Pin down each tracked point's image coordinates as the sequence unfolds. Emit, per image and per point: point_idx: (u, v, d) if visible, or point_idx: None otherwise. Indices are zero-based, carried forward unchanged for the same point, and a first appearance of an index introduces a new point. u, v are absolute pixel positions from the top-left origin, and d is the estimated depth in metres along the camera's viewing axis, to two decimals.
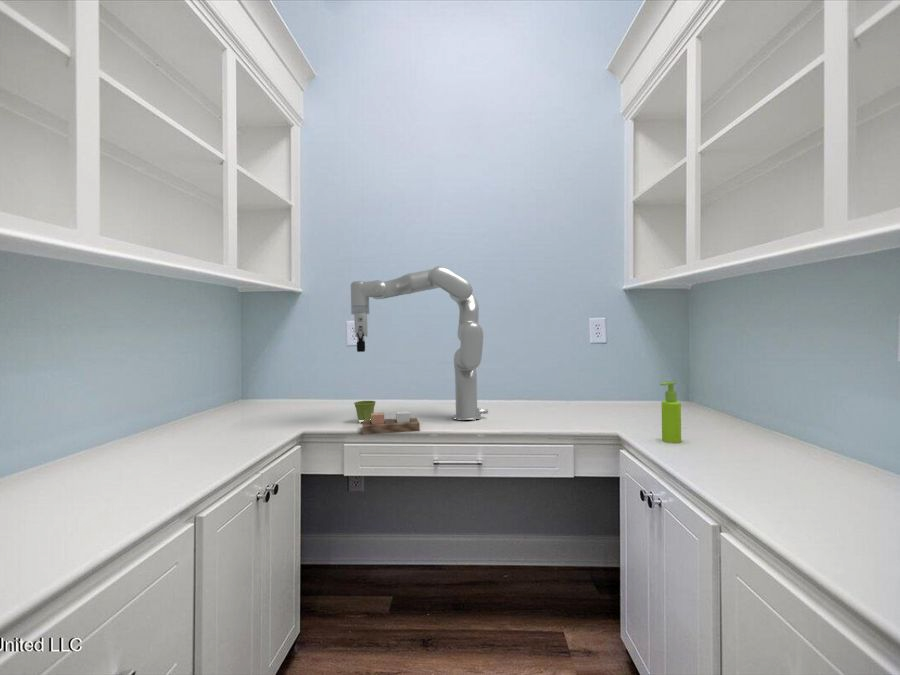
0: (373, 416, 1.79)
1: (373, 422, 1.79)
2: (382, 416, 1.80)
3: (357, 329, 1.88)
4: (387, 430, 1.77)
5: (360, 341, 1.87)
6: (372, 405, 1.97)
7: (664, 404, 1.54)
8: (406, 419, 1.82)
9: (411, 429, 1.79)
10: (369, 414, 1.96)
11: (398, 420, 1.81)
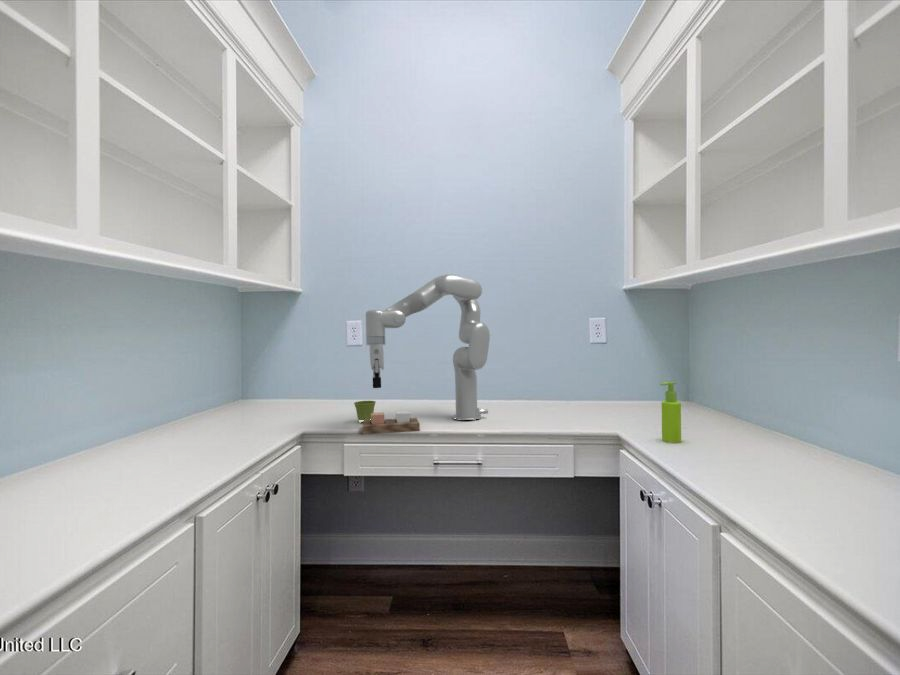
0: (373, 416, 1.79)
1: (373, 422, 1.79)
2: (382, 416, 1.80)
3: (373, 362, 1.77)
4: (387, 430, 1.77)
5: (376, 378, 1.80)
6: (372, 405, 1.97)
7: (664, 404, 1.54)
8: (406, 419, 1.82)
9: (411, 429, 1.79)
10: (369, 414, 1.96)
11: (398, 420, 1.81)
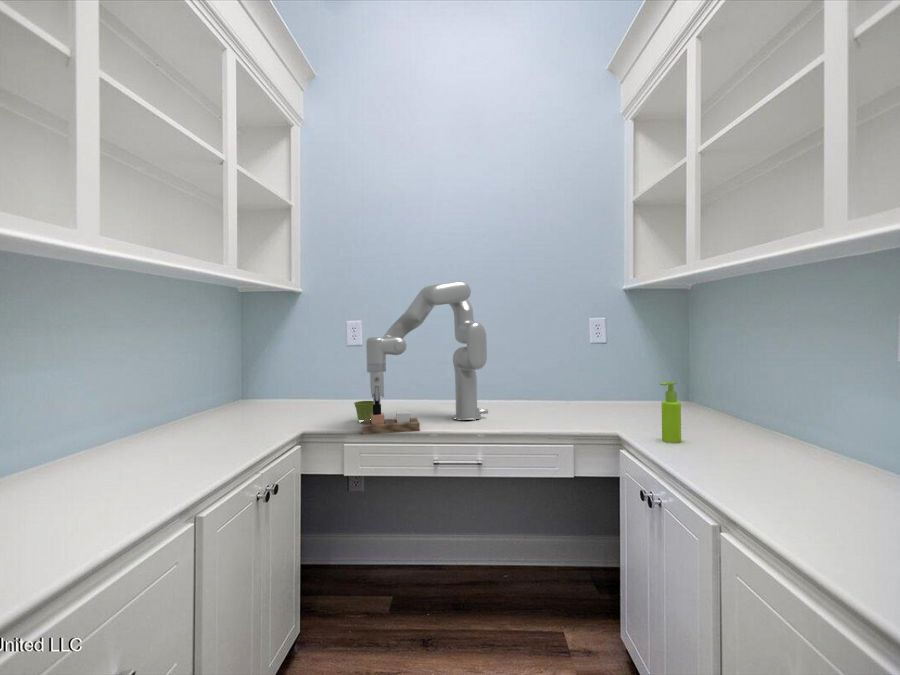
0: (373, 416, 1.79)
1: (373, 422, 1.79)
2: (382, 416, 1.80)
3: (373, 389, 1.77)
4: (387, 430, 1.77)
5: None
6: (372, 405, 1.97)
7: (664, 404, 1.54)
8: (406, 419, 1.82)
9: (411, 429, 1.79)
10: (369, 414, 1.96)
11: (398, 420, 1.81)
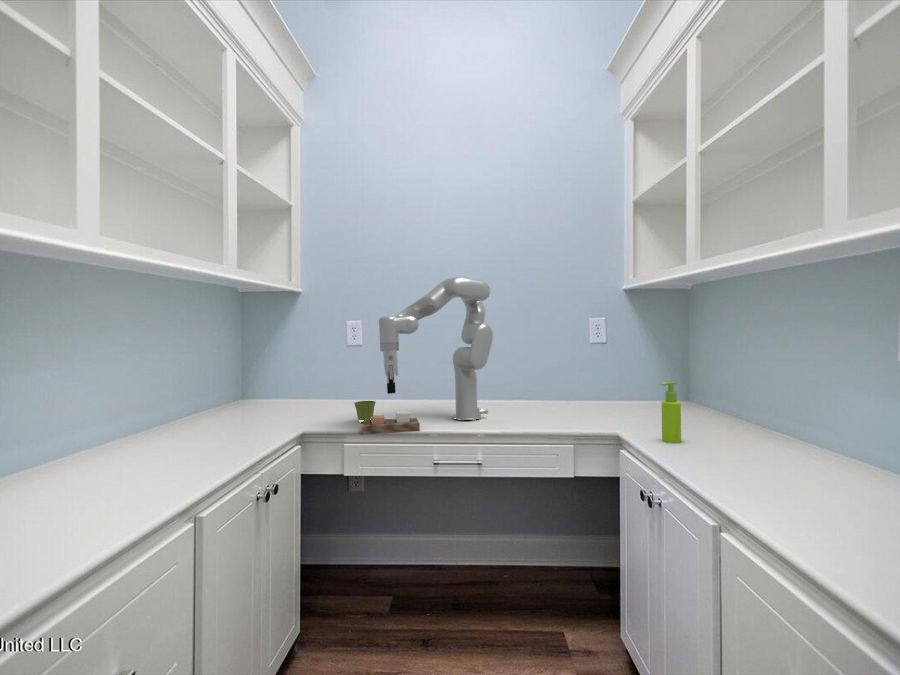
0: (373, 419, 1.79)
1: None
2: (382, 419, 1.80)
3: (387, 368, 1.78)
4: (387, 430, 1.77)
5: None
6: (372, 405, 1.97)
7: (664, 404, 1.54)
8: (406, 419, 1.82)
9: (411, 429, 1.79)
10: (369, 414, 1.96)
11: (398, 420, 1.81)
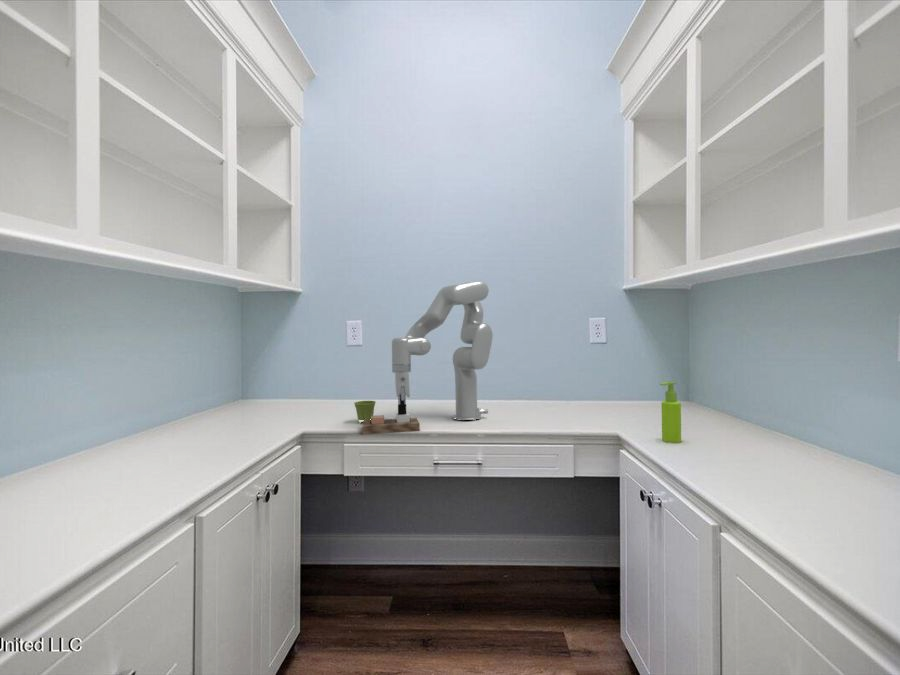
0: (373, 419, 1.79)
1: None
2: (382, 419, 1.80)
3: (399, 389, 1.78)
4: (387, 430, 1.77)
5: None
6: (372, 405, 1.97)
7: (664, 404, 1.54)
8: (406, 420, 1.82)
9: (411, 429, 1.79)
10: (369, 414, 1.96)
11: (398, 422, 1.81)
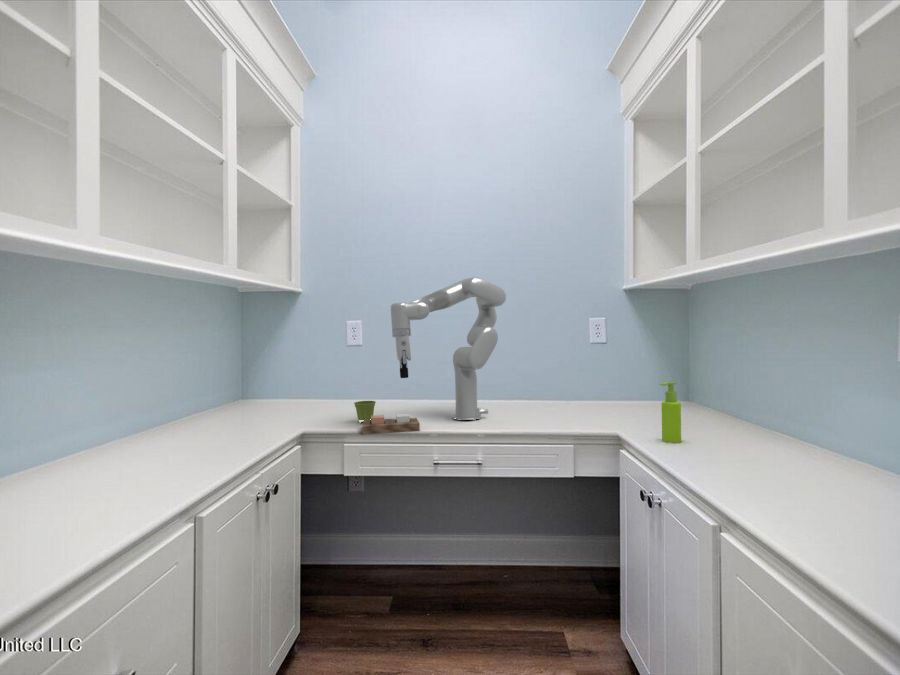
0: (373, 419, 1.79)
1: None
2: (382, 419, 1.80)
3: (401, 353, 1.82)
4: (387, 430, 1.77)
5: (403, 368, 1.87)
6: (372, 405, 1.97)
7: (664, 404, 1.54)
8: None
9: (411, 429, 1.79)
10: (369, 414, 1.96)
11: None
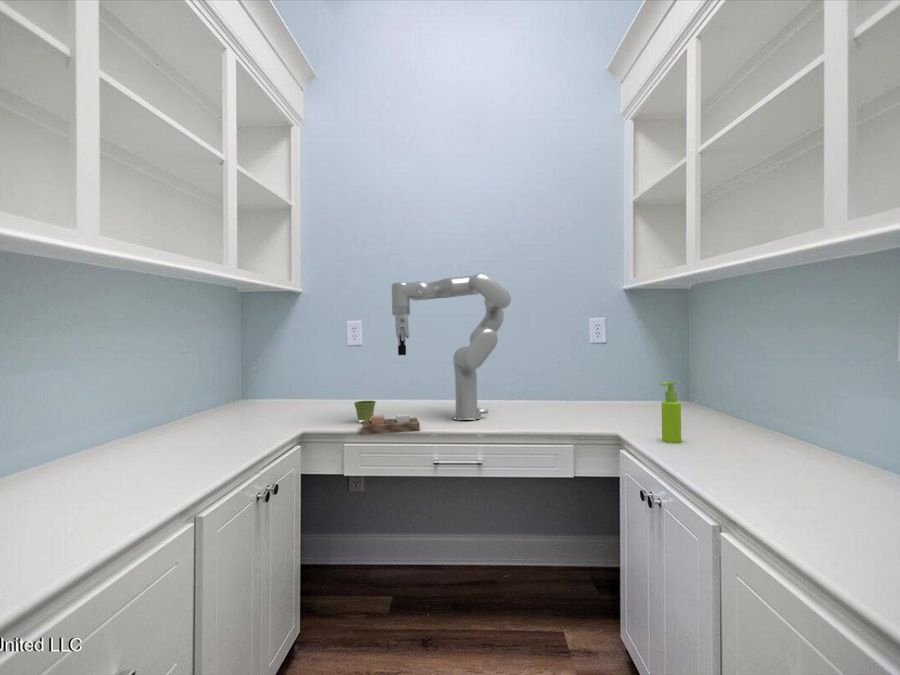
0: (373, 419, 1.79)
1: None
2: (382, 419, 1.80)
3: (399, 330, 1.88)
4: (387, 430, 1.77)
5: None
6: (372, 405, 1.97)
7: (664, 404, 1.54)
8: None
9: (411, 429, 1.79)
10: (369, 414, 1.96)
11: None
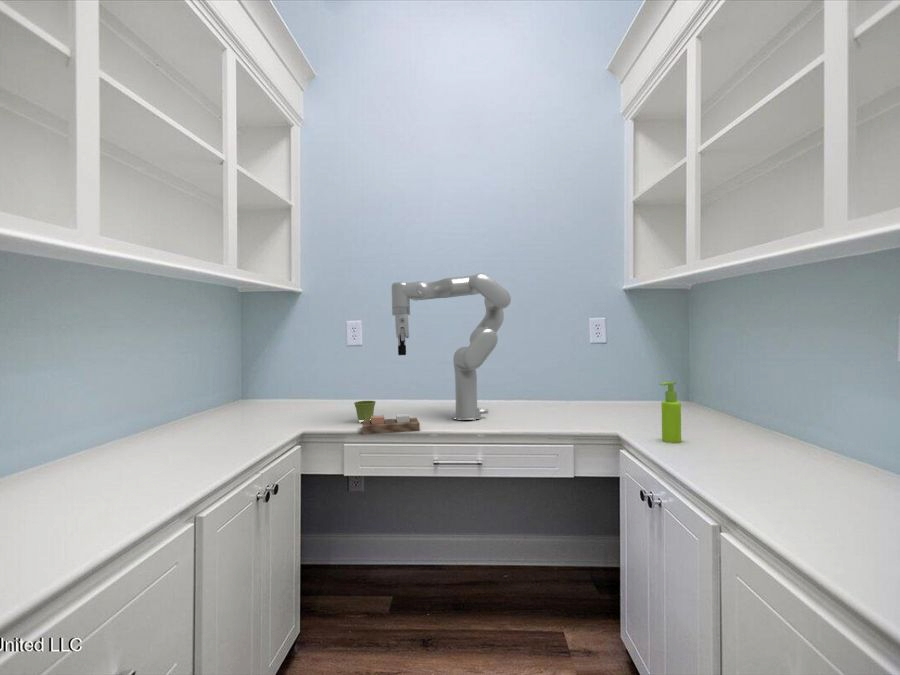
0: (373, 419, 1.79)
1: None
2: (382, 419, 1.80)
3: (399, 330, 1.88)
4: (387, 430, 1.77)
5: None
6: (372, 405, 1.97)
7: (664, 404, 1.54)
8: None
9: (411, 429, 1.79)
10: (369, 414, 1.96)
11: None
